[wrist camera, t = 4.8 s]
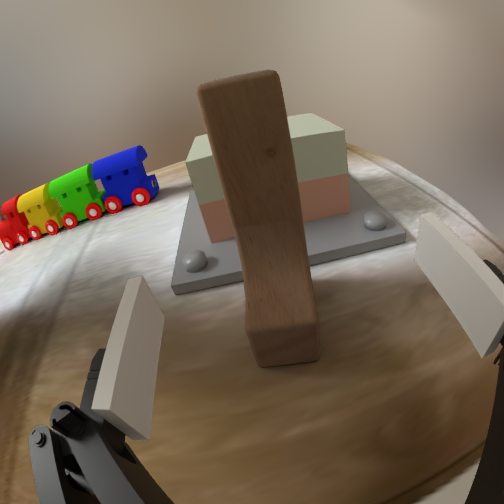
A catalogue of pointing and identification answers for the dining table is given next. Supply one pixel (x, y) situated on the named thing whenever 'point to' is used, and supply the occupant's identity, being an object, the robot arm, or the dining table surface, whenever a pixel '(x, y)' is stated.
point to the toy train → (78, 197)
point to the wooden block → (264, 213)
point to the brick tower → (312, 203)
